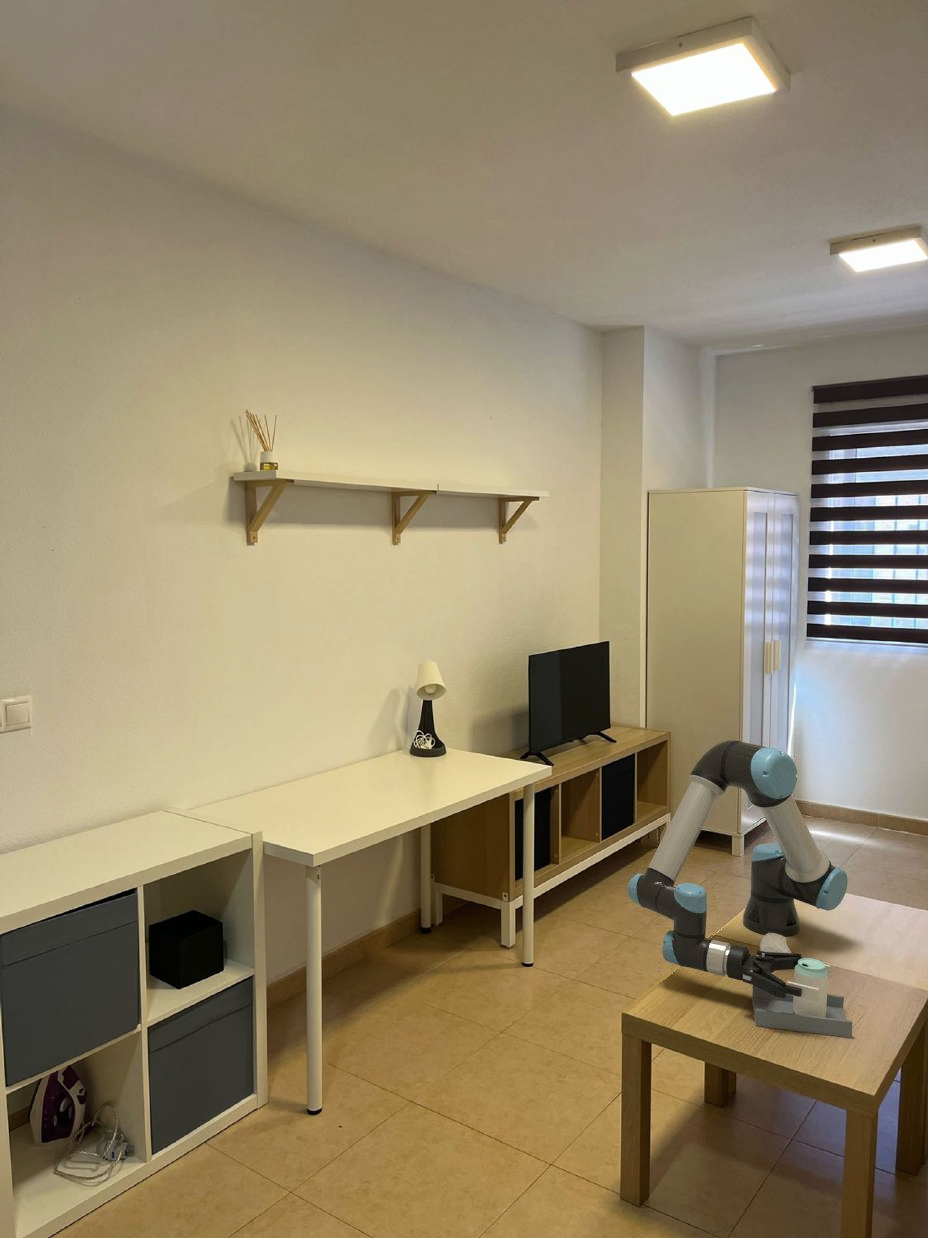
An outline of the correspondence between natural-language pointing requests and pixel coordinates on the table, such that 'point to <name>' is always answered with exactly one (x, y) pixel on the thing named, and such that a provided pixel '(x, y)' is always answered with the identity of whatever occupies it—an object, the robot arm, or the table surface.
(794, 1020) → the duct channel
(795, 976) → the can
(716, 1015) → the table surface
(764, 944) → the cream rounded lump
